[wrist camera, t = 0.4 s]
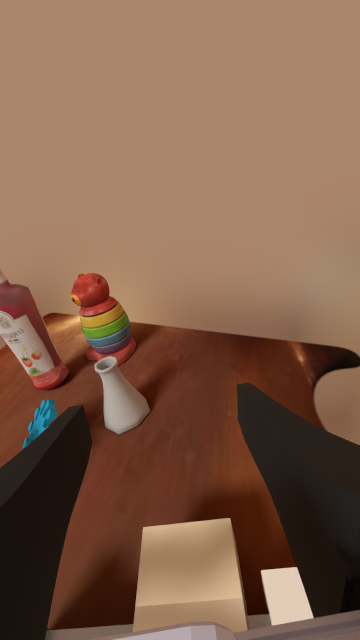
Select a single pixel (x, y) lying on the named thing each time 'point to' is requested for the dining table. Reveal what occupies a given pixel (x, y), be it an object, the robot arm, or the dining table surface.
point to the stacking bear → (102, 319)
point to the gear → (41, 420)
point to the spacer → (285, 596)
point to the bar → (131, 629)
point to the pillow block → (190, 576)
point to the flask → (120, 398)
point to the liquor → (29, 336)
